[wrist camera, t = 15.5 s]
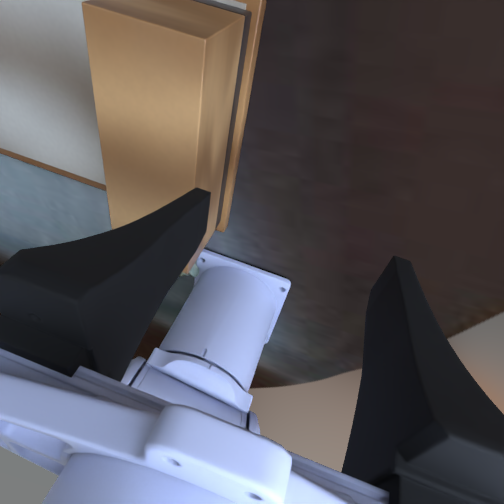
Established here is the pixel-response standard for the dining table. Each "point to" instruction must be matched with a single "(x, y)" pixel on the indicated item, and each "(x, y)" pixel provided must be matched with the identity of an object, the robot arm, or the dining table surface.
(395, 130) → the dining table surface
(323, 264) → the dining table surface
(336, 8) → the dining table surface
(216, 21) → the eraser
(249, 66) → the whiteboard
